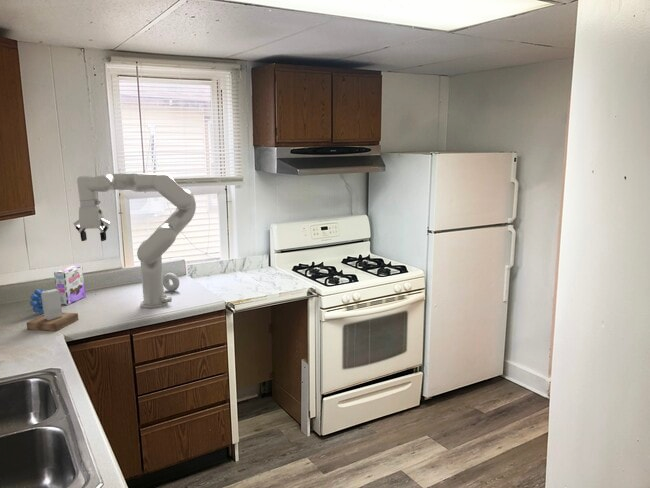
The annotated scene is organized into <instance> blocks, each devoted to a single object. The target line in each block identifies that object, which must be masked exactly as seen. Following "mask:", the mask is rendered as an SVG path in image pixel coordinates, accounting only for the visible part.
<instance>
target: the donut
mask: <svg viewBox="0 0 650 488" xmlns="http://www.w3.org/2000/svg"><path fill="white" fill-rule="evenodd" d="M170 281H171V282H172V284H171V283H170ZM163 287H164V289H166V290H167V291H169V292H176V291H177V290H178V289H179V287H180V279H179V277H178V275H176V273H173V272H168V273H165V274H164V275H163Z"/></svg>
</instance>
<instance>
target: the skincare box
mask: <svg viewBox="0 0 650 488" xmlns="http://www.w3.org/2000/svg"><path fill="white" fill-rule="evenodd" d="M41 297H42V303H43V311H44V313H43V315H44V318H45V319H47V320H51V319H55V318H59V317H62V313H63V309H62V305H61V301H60V293H59V290H57V289H56V288H52V289H48V290H45V291H43V292H41Z"/></svg>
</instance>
